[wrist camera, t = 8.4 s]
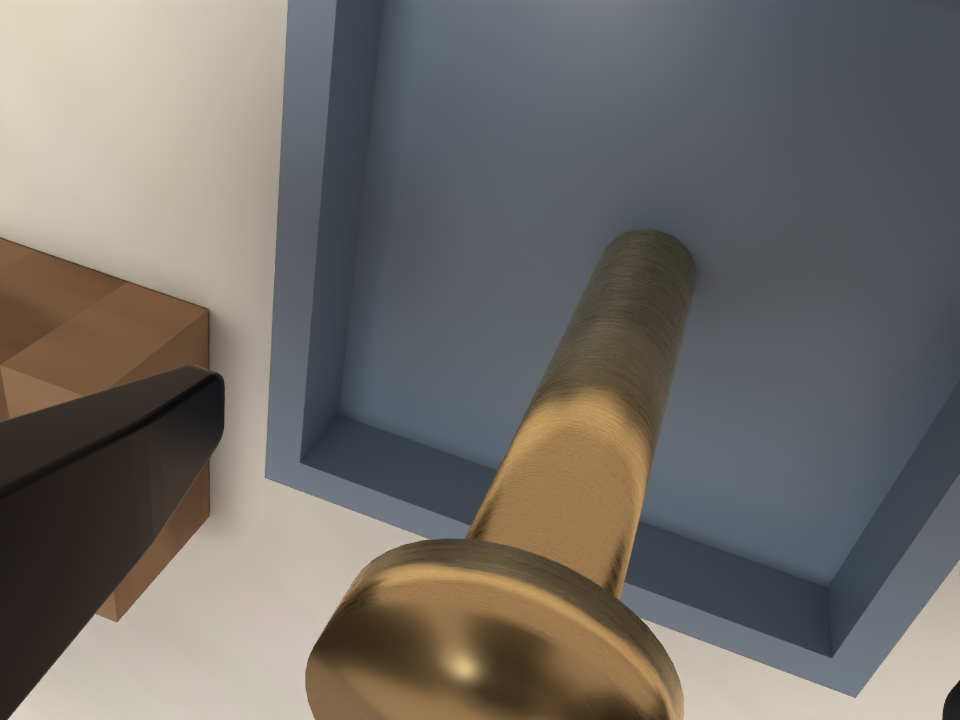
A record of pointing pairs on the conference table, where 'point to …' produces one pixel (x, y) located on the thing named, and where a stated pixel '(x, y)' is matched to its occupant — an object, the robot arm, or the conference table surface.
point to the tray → (575, 253)
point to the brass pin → (535, 541)
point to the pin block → (96, 364)
